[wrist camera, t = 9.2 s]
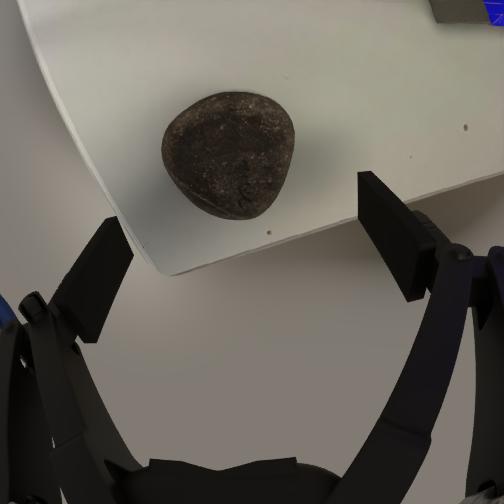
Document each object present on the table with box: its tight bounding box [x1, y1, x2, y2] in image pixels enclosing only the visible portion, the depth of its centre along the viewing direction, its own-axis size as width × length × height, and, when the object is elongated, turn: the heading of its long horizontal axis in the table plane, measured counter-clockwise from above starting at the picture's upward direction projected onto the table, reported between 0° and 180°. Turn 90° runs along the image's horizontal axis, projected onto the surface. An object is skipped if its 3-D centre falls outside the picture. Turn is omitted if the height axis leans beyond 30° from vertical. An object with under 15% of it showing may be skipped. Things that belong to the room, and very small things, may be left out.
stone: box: [161, 92, 295, 220], centre depth 23 cm, size 11×11×5 cm
